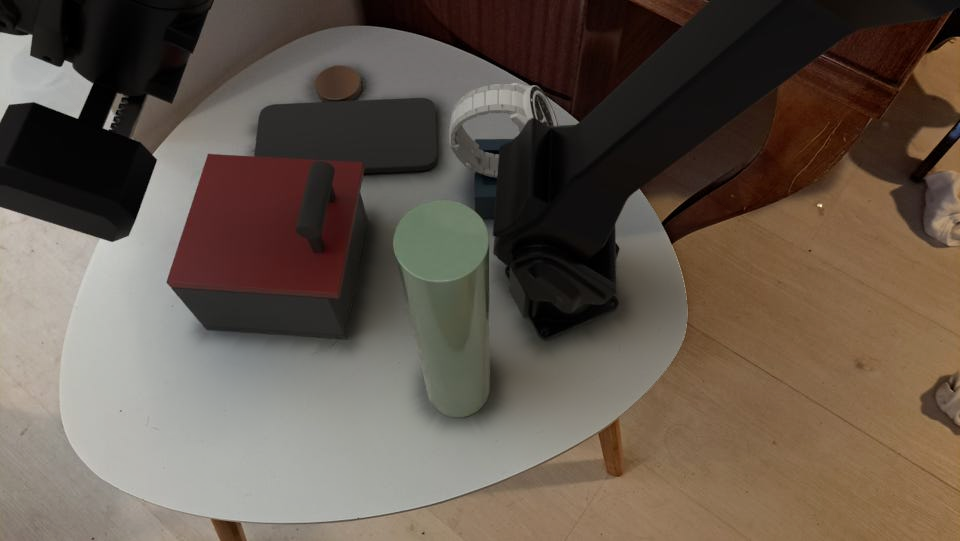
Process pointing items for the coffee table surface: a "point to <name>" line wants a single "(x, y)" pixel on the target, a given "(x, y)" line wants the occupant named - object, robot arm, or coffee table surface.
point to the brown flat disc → (338, 84)
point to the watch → (485, 152)
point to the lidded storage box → (282, 303)
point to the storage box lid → (269, 226)
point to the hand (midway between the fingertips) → (96, 140)
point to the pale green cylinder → (448, 301)
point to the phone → (352, 133)
